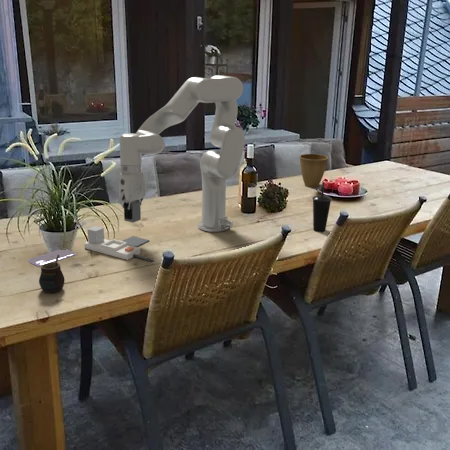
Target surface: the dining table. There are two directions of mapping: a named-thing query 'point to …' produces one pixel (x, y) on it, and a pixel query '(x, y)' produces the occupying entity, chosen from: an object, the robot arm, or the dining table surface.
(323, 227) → the drinking cup
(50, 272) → the mate gourd
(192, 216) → the dining table surface
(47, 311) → the dining table surface
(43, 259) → the mobile phone
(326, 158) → the plant pot
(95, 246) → the power strip
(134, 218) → the block
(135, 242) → the mat
